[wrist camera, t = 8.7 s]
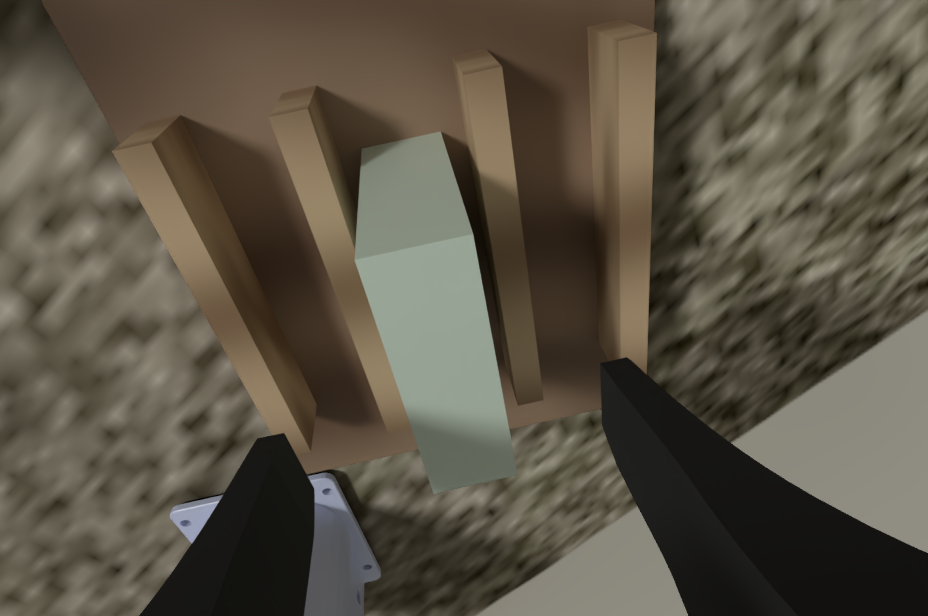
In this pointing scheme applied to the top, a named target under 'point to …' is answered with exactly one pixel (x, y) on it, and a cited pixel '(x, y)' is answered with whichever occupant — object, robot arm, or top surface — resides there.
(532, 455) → the top surface
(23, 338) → the top surface
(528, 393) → the dish rack
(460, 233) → the pale green block
